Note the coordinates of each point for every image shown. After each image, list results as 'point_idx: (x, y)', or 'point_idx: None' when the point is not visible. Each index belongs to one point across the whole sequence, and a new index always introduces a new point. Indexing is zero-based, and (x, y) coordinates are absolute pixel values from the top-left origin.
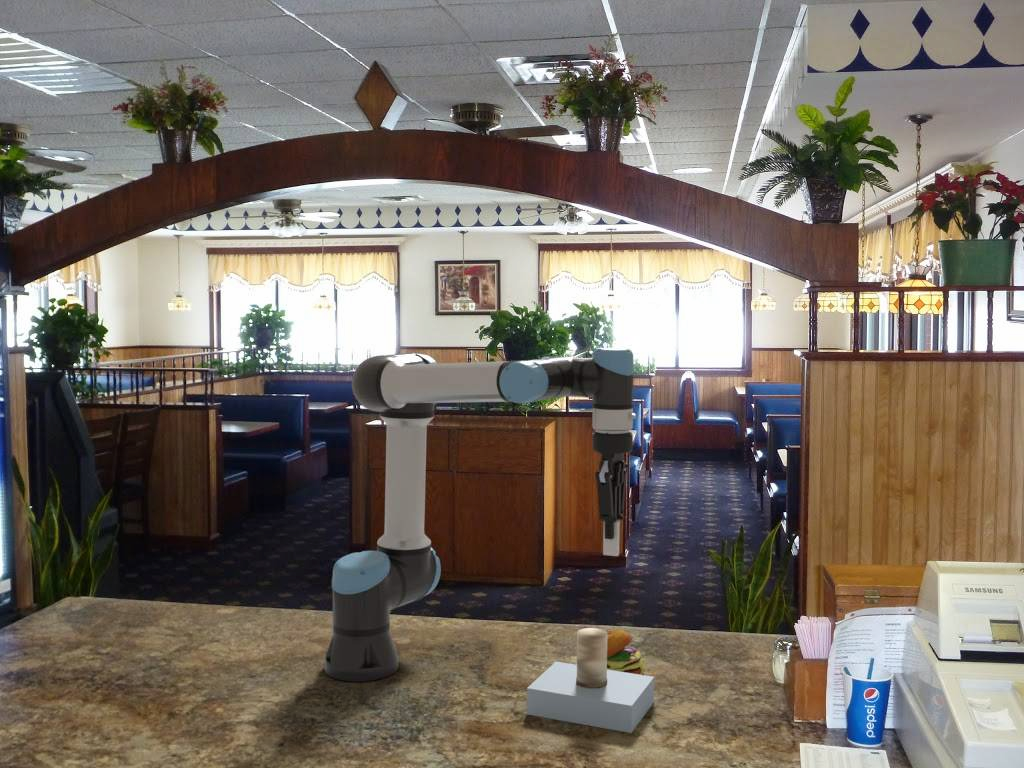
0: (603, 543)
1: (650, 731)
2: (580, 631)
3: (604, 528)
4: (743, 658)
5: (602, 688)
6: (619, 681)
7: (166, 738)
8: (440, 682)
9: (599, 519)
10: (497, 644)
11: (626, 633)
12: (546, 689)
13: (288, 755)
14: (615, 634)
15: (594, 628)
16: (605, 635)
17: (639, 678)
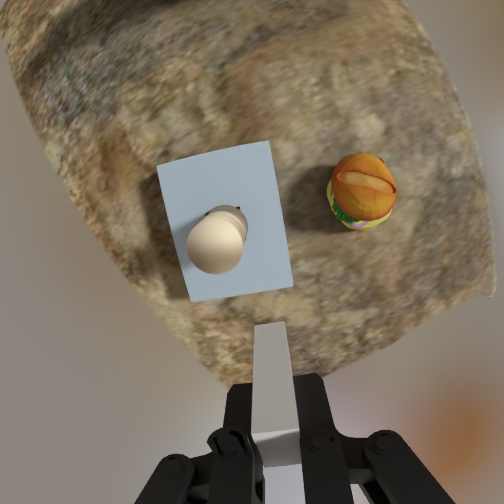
0: (254, 353)
1: (214, 301)
2: (207, 225)
3: (253, 405)
4: (444, 295)
5: None
6: (251, 256)
7: (22, 21)
8: (193, 31)
9: (211, 438)
10: (347, 21)
11: (381, 212)
12: (166, 189)
13: (21, 84)
14: (363, 202)
15: (238, 239)
16: (216, 273)
17: (277, 273)
